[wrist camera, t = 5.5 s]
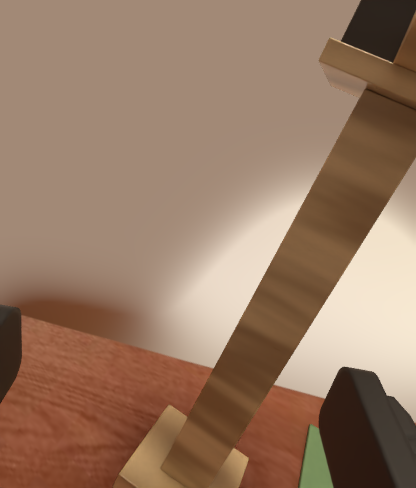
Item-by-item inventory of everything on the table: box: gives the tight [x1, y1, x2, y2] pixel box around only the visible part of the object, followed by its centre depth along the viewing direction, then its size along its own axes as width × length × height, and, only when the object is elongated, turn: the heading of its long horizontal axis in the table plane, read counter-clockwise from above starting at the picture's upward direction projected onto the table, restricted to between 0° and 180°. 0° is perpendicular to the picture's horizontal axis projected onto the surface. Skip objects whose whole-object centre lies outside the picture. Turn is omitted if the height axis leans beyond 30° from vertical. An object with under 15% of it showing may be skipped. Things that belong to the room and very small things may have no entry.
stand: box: [113, 38, 416, 488], centre depth 25 cm, size 8×8×30 cm
